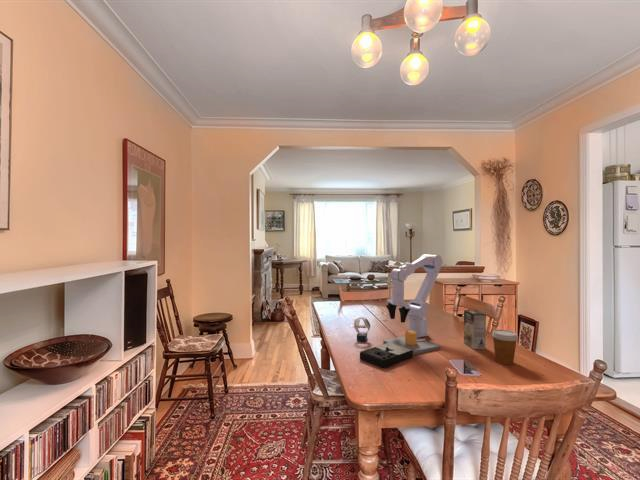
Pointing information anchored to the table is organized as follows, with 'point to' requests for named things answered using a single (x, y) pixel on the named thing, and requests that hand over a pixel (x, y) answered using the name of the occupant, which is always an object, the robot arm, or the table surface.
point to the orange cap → (410, 337)
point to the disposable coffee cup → (504, 345)
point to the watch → (362, 335)
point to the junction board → (418, 348)
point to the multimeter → (386, 355)
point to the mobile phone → (465, 368)
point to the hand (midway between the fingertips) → (397, 320)
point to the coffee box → (474, 329)
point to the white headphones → (358, 324)
